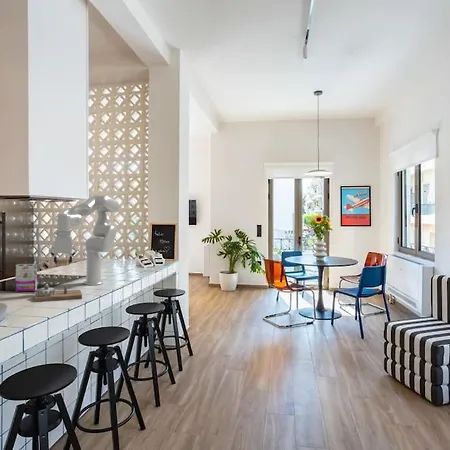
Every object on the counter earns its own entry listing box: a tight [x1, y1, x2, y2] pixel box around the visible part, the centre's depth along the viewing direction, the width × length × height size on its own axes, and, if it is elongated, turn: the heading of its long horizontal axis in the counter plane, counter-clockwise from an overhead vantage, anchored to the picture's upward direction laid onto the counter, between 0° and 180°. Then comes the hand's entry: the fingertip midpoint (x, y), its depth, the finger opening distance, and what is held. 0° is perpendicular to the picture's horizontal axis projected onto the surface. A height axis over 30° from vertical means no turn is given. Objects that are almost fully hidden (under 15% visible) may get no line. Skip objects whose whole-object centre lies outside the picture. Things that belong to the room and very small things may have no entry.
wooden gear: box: [55, 258, 70, 267], centre depth 218 cm, size 7×7×3 cm
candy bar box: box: [14, 263, 38, 293], centre depth 221 cm, size 11×5×16 cm, turn 106°
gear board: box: [34, 284, 83, 303], centre depth 208 cm, size 15×24×7 cm, turn 115°
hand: (62, 263), depth 218 cm, fingers closed on wooden gear, 7 cm apart
